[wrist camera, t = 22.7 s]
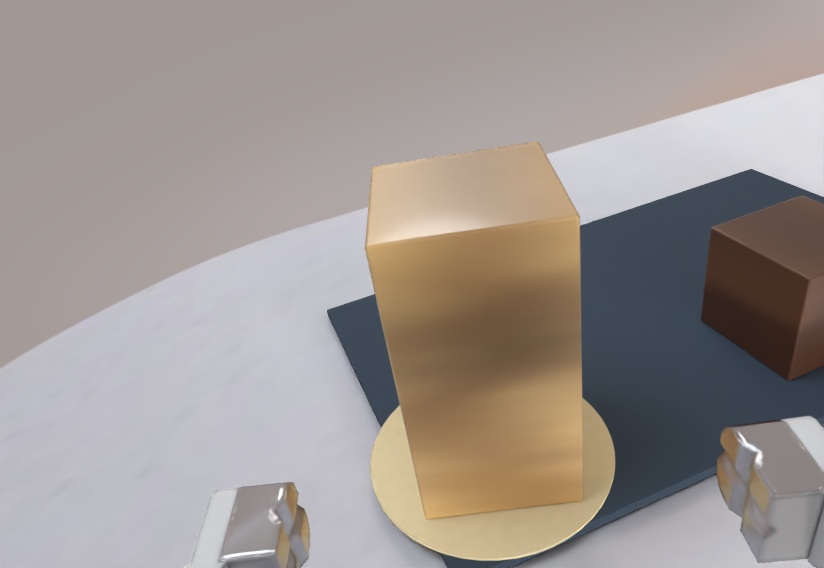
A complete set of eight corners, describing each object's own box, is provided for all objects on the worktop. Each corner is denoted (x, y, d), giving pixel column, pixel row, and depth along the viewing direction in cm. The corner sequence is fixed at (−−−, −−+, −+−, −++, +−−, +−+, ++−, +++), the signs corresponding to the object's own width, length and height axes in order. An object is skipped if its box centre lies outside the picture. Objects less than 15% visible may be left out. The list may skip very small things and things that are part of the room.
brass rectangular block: (425, 520, 20) (364, 246, 15) (420, 409, 24) (371, 165, 19) (584, 501, 20) (581, 215, 14) (551, 392, 24) (539, 139, 18)
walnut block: (788, 382, 23) (810, 279, 20) (699, 320, 26) (710, 226, 24) (881, 341, 24) (913, 239, 21) (784, 287, 27) (802, 194, 25)
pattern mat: (422, 615, 18) (420, 605, 18) (305, 324, 31) (302, 316, 31) (1087, 310, 24) (1092, 299, 24) (750, 174, 37) (751, 166, 37)
